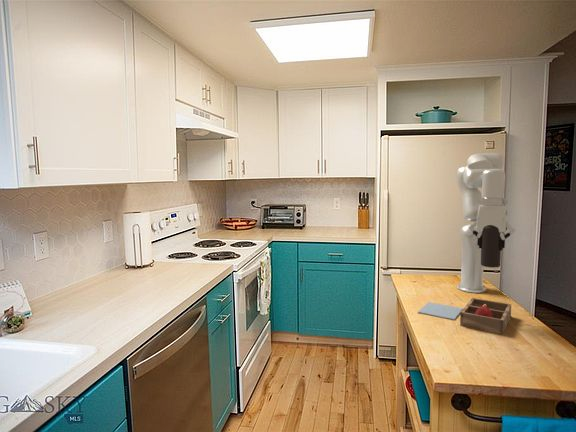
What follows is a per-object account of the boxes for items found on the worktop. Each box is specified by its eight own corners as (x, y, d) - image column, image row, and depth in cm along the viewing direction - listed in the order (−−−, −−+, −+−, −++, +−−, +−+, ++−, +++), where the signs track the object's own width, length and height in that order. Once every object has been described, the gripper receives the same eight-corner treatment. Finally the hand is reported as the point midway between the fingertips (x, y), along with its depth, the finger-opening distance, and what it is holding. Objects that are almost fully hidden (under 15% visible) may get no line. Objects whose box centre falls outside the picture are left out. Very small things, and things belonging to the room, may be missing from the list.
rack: (471, 309, 157) (472, 297, 156) (510, 316, 148) (511, 304, 148) (460, 325, 141) (460, 312, 140) (502, 334, 133) (503, 320, 132)
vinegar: (477, 263, 150) (479, 213, 147) (494, 263, 149) (496, 213, 147) (485, 267, 143) (487, 215, 140) (503, 267, 143) (506, 215, 140)
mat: (428, 303, 165) (428, 302, 165) (462, 309, 157) (463, 308, 157) (417, 312, 154) (418, 311, 154) (454, 320, 146) (454, 319, 146)
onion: (484, 329, 137) (485, 308, 136) (471, 323, 142) (472, 303, 141) (496, 326, 139) (496, 305, 138) (482, 321, 144) (483, 300, 144)
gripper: (520, 202, 141) (518, 249, 143) (469, 200, 151) (468, 245, 153) (517, 203, 135) (515, 253, 137) (465, 202, 145) (464, 248, 148)
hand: (490, 248), depth 145 cm, fingers closed on vinegar, 6 cm apart
